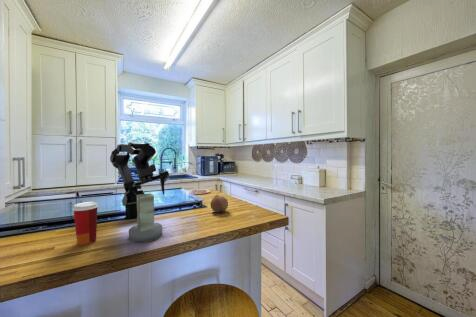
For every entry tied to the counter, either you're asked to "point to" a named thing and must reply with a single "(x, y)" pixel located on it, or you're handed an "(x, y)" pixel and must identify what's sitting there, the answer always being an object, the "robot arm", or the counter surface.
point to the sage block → (145, 211)
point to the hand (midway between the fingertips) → (153, 198)
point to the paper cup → (85, 222)
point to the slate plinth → (145, 233)
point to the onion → (219, 204)
